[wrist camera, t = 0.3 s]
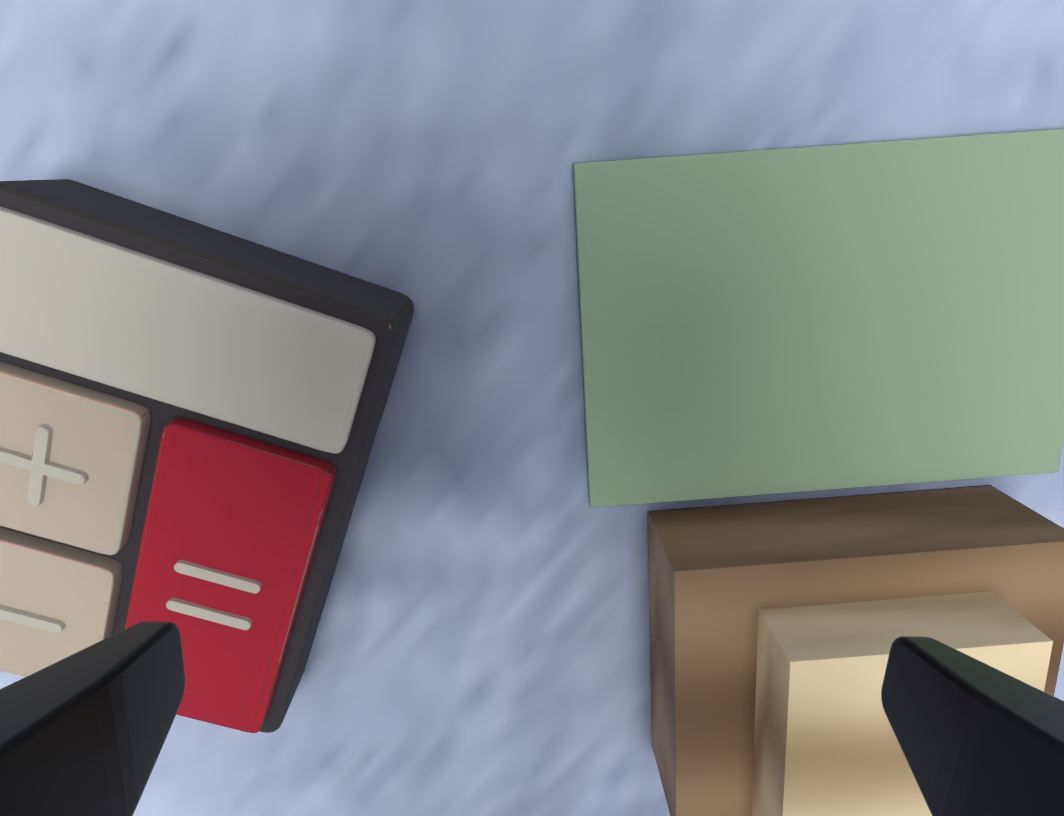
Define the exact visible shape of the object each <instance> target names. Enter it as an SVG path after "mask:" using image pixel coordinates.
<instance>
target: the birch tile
mask: <svg viewBox="0 0 1064 816" xmlns="http://www.w3.org/2000/svg"><path fill="white" fill-rule="evenodd" d="M901 636H917V637H930V638H933V639H935V640H937V641H939V642H941V643H944V644H946V645H948V646H950V647H952V648H954V649H956V650H958V651H960V652H962V653H964V654H966V655H968V656H971V657H973V658H975V659H977V660H979V661H981V662H983V663H985V664H987V665H989V666H991V667H993V668H995V669H998V670H1000V671H1002V672H1004V673H1006V674H1008V675H1010V676H1012V677H1014V678H1016V679H1018V680H1020V681H1022V682H1025V683H1027V684H1029V685H1031V686H1033V687H1035V688H1037V689H1039V690H1041V691H1043V692H1044V689H1045V683H1046V678H1047V672H1048V667H1049V661H1050V656H1051V650H1052V645H1053V641H1052V640H1051V639H1050V638H1049V637H1047V636H1046V635H1045V634H1044V633H1042V632H1041V631H1040V630H1039V629H1037V628H1036V627H1035V626H1034V625H1033V624H1031V623H1030V622H1029V621H1028V620H1026V619H1025V618H1024V617H1023V616H1021V615H1020V614H1019V613H1018V612H1016V611H1015V610H1014V609H1013V608H1011V607H1010V606H1009V605H1008V604H1007V603H1005V602H1004V601H1003V600H1002V599H1000V598H999V597H998V596H997V595H995V594H994V593H993V592H992V591H991V592H979V593H966V594H953V595H941V596H928V597H915V598H902V599H890V600H877V601H864V602H851V603H839V604H826V605H813V606H800V607H788V608H775V609H762V610H758V639H757V668H756V698H755V728H754V757H753V787H752V816H932V814H931V812H930V810H929V808H928V806H927V804H926V801H925V799H924V797H923V795H922V793H921V791H920V788H919V786H918V784H917V782H916V780H915V777H914V775H913V773H912V771H911V769H910V767H909V764H908V762H907V760H906V758H905V756H904V753H903V751H902V749H901V747H900V745H899V743H898V740H897V738H896V736H895V734H894V732H893V729H892V727H891V725H890V723H889V721H888V719H887V716H886V714H885V712H884V709H883V705H882V700H881V689H882V684H883V680H884V675H885V670H886V666H887V661H888V657H889V652H890V648H891V645H892V643H893V641H894V640H895V639H896V638H898V637H901Z"/></svg>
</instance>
